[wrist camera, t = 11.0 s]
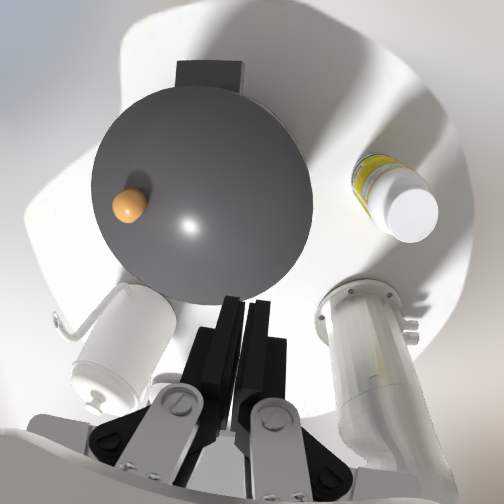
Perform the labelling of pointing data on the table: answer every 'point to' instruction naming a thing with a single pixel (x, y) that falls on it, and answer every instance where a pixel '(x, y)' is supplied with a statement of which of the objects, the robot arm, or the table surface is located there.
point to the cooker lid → (202, 194)
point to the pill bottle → (395, 197)
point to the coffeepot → (120, 349)
